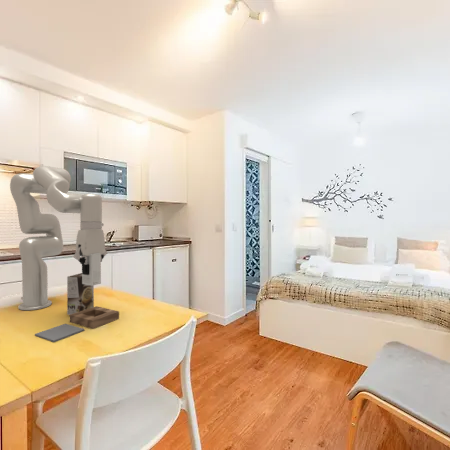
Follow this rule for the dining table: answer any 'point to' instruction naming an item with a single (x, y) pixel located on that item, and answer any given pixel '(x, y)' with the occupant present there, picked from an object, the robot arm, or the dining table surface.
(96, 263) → the skincare box
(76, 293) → the coffee box
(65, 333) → the coaster
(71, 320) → the pocket block
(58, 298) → the dining table surface
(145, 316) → the dining table surface
